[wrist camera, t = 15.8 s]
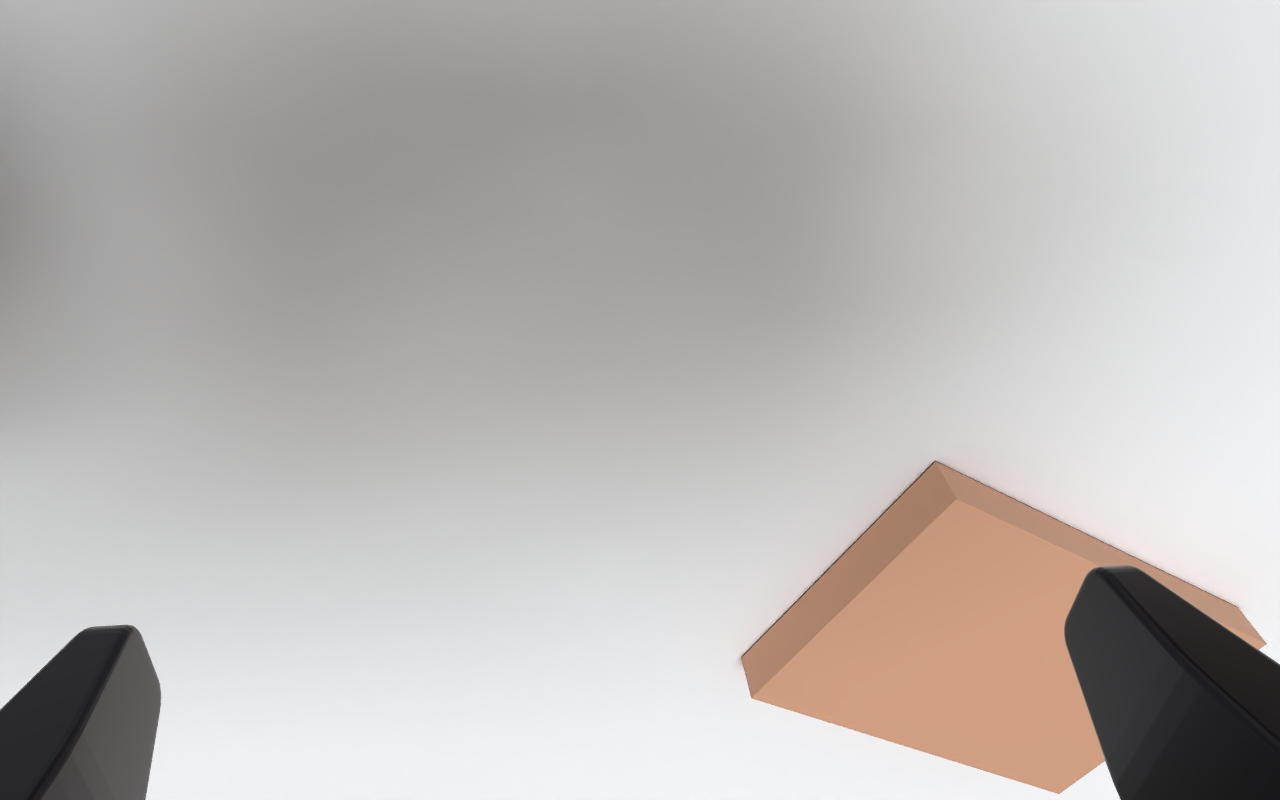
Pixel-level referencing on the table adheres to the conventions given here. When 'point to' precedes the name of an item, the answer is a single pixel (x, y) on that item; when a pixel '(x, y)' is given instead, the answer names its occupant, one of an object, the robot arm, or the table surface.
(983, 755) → the peach flat block
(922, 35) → the table surface
